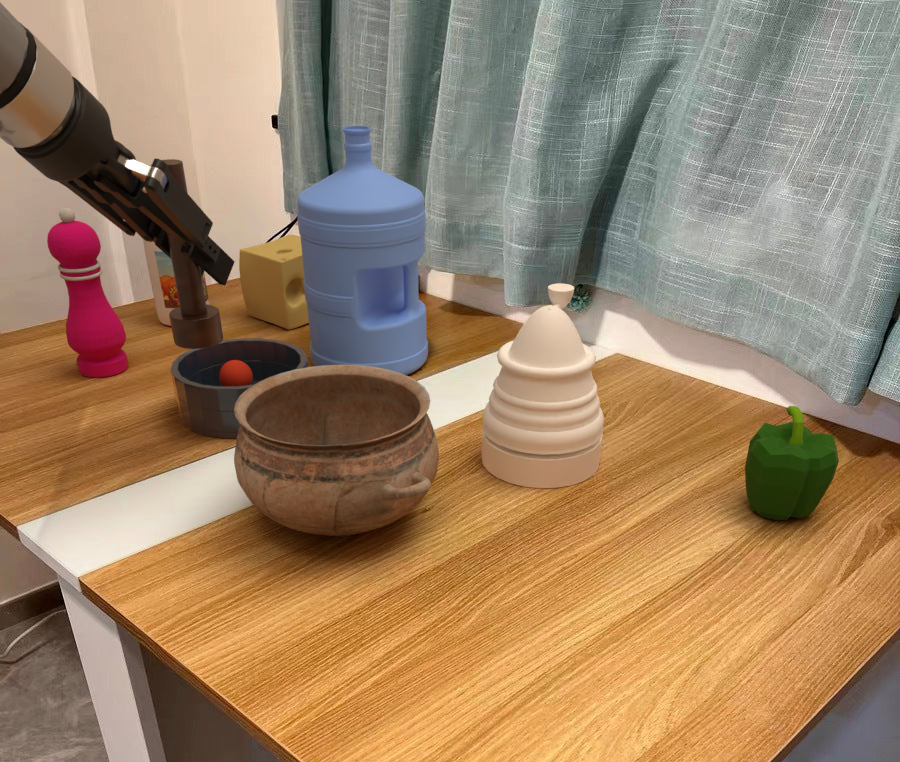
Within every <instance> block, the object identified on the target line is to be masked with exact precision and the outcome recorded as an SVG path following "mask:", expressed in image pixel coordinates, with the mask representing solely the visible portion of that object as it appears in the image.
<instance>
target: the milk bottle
mask: <svg viewBox="0 0 900 762" xmlns="http://www.w3.org/2000/svg"><path fill="white" fill-rule="evenodd" d="M142 240H143V248H144V254H145V261H146V265H147V271H148V276H149V280H150V286H151V291H152V295H153V300H154V305H155V306H154V307H155V312H156V315H157V319H158V320H159V322H160V324H163V325H165V326H169V327H171V322H170V317H169V313H170V312H171V311H172V310H173V309H175V308H178V307H180V305H179V299H178V294H177V288H176V283H175V277H174V272H173V266H172V261H171V258H170V257H168V256H167V255H166V254H165V253H164V252H163V251H162V250H160V249H159V248H158V247H157V246H156V245H155V243H154V242H149V241H145V240H144V239H143V238H142ZM202 283H203V289H204V295H205V301H206V304H207V305H210V299H209V293H208V287H207V286H208V285H207V281H206V275H205V272H204V273H203V276H202Z"/></svg>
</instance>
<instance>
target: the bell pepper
mask: <svg viewBox="0 0 900 762" xmlns="http://www.w3.org/2000/svg"><path fill="white" fill-rule="evenodd" d="M785 411H786V413H787V415H788V416H790V417H791V418H792V421H790V422H785V423H782V424H778V425H775V424H772V423H769V422H764V423H763V424H762V425H761V426H760V428H759V429H758V430H757V432H755V434H754V435H753V437H752V438H751V439H750V441H749V444H748V449H747V453H746V460H745V464H744V475H745V476H744V477H745V478H744V479H745V481H744V482H745V491H746V497H747V501H748V503H749V506H750V508H751V510H752V511H754V512H755V513H756V514H758V516H761V517H762V518H766V519H769V520H773V521H787V520H788V519H789V518H790V517H792V518H796V519H799V518H800V519H801V518H807V517H809V516H810V515H811V514H812V513H814V511H815V510H816V508H817V507H818V505H819V503H820V502H821V501H822V499H823V497H824V496H825V494H826V492H827V491H828V489H829V487H830V486H831V483H832V482H833V480H834V478H835V475H836V471H837V468H838V465H839V461H840V460H839V454H838V448H837V445H836V439H835V436H834V435H833V434H827V433H822V432H819V433H818V432H817V433H814V432H812V431H811V429H810V428H808V427H807V426H805V421H804V420H805V419H804V414H803V412H802V410H801V408H800V407H798V406H796V405H789V406H788V407H787V408H786V410H785Z"/></svg>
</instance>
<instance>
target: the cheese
mask: <svg viewBox="0 0 900 762" xmlns="http://www.w3.org/2000/svg"><path fill="white" fill-rule="evenodd" d="M238 261H239V262H238V263H239V264H238V268H239V270H238V271H239V278H240V285H241V291H242V297H243V301H244V305H245V308H246V311H247V314H248V315H249V316H250V317H253V318H255V319H258V320H260V321H263V322H267V323H269V324H272V325H275V326H277V327H280V328H283V329H286V330H287V331H291V330H293V329H296V328H299V327H302V326H306V325H307V324H309V318H308V308H307V302H306V298H305V290H304V280H305V278H304V267H303V257H302V247H301V236H300V235H296V234H287V235H285V236H282V237H279V238H277V239H274V240H271V241H268V242H264V243H261V244H257V245H253V246H248V247H244V248H240V249H239V260H238Z"/></svg>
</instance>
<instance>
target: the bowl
mask: <svg viewBox="0 0 900 762" xmlns="http://www.w3.org/2000/svg"><path fill="white" fill-rule="evenodd" d="M231 360H239V361H242V362H244V363H246V364H247V365H248V366H249V367H250V369H251V371H252V374H253V382H252V385H246V386H229V387H223V386H222V384H221V382H220V379H219V373H220V370H221V368H222V366H223V365H224V364H225V363H227V362H228V361H231ZM307 367H309V361H308V355H307V353H306V352H305V351H304V350H303V349H302V348H301V347H298V346H297V345H295V344H293V343H290V342H287V341H283V340H278V339H271V338H261V337H249V338H248V337H244V338H243V337H241V338H231V339H223V340H222V342H220V343H219V344H217V345H214V346H211V347H207V348H201V349H188V350H187V351H185V352H183V353H182V354H179V355H178V356H177V357H176V358H175V359H174V361H172V363H171V366H170V373H171V375H170V376H171V380H172V386H173V390H174V395H175V401H176V405H177V410H178V411H177V412H178V414H179V416H180V420H181V423H182V424H183V425H184V426H185V428H187V429H189V430H190V431H192V432H194V433H196V434H200V435H202V436H206V437H210V438H216V439H230V440H231V439H232V440H233V439H234V440H237V436H238V430H239V427H240V423H239V422H238V420H237V419H236V417H235V413H234V408H235V403H236V401H237V400H238V398H239V397H240V395H241V394H242V393H244V392H245V391H246V390H247V389H248V388H250V387H251V386H253V385H254V384H256V383H258V382H260V381H262V380H264V379H266V378H269V377H271V376H274V375H277V374H280V373H284V372H288V371H291V370H296V369H301V368H307Z"/></svg>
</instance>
